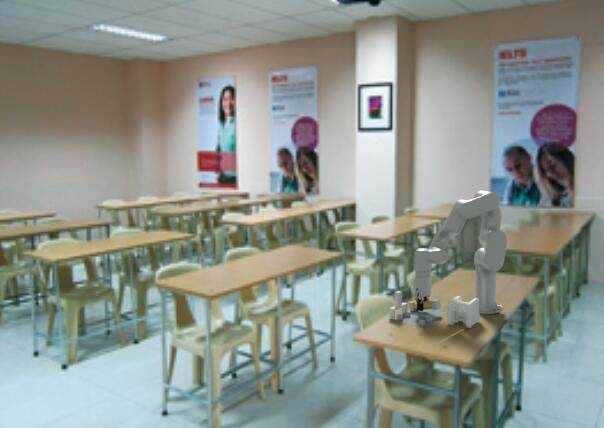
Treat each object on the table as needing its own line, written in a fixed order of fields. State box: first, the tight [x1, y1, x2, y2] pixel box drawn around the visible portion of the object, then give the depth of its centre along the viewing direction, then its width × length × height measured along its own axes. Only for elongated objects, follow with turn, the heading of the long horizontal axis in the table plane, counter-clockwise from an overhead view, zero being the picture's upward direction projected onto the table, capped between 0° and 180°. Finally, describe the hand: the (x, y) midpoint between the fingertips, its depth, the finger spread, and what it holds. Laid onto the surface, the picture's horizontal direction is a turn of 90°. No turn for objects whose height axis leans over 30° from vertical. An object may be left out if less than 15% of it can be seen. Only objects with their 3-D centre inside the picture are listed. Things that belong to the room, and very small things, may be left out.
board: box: [389, 311, 441, 329], centre depth 243 cm, size 20×13×3 cm, turn 45°
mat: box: [407, 308, 447, 320], centre depth 255 cm, size 18×12×1 cm, turn 45°
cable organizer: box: [445, 295, 480, 329], centre depth 237 cm, size 15×11×12 cm
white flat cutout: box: [389, 290, 408, 319], centre depth 249 cm, size 2×12×12 cm, turn 135°
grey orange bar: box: [408, 298, 442, 311], centre depth 253 cm, size 15×4×4 cm, turn 45°
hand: (422, 309), depth 254 cm, fingers closed on grey orange bar, 4 cm apart
